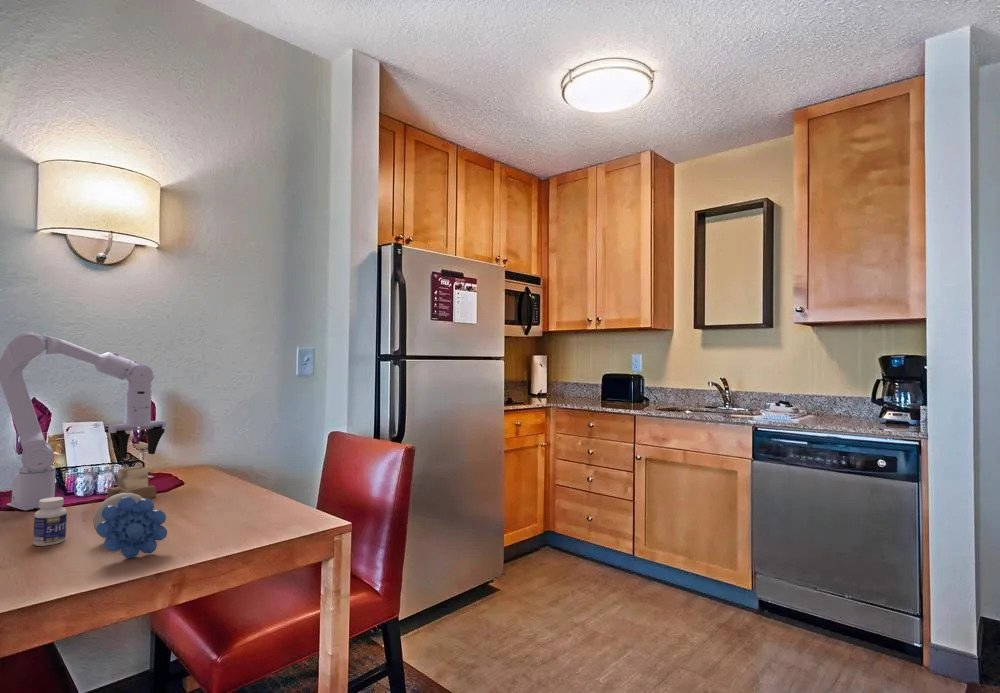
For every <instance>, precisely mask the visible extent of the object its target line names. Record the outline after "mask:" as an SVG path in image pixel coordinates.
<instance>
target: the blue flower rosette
mask: <svg viewBox="0 0 1000 693" xmlns="http://www.w3.org/2000/svg"><path fill="white" fill-rule="evenodd" d="M154 508H155V504H154V502H153V501H152V499H141V500H139V501H138V502H137V504H136V501H135V500H134V499H133V498H132V497H123V498H121V499H120V500H119V502H118V507H116V506H110V505H109V506H107V507H105V508H104V509H103V511H102V517H103V518H104V519H105V520H106V521H103V522H101V523H99V524H98V525H97V528H96V530H95V532H96V531H97V532H96V533H97V535H98V536H100V537H101V538H103V537H108V538H106V539H104V542H103V547H104V548H105V549H106V550H107V551H108V552H112V553H114V552H115V553H117V552H118V551H120V553H121V555H122V556H123V557H124V558H126V559H133V558H136V557H137V556H138V555H139V553H140V551H141V552H142V553H143V554H152V553H153V552H154V551H156V549H157V546H158V544H157V543H158V542H157V541H162V540H165V539H166V537H167V535H168V530H167V528H166V527H165V526H164V525H162V524H164V523H165V522H166V520H167V514H166V513H165V512H164V511H163V510H161V509H154Z"/></svg>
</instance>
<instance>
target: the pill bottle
mask: <svg viewBox="0 0 1000 693" xmlns="http://www.w3.org/2000/svg"><path fill="white" fill-rule="evenodd" d="M64 500H65V499H64V497H62V496H55V497H51V498H45V499H41V500H40V501H39V508H38V510H37V511H36V512H35V513H34V516H33V517H34V518H33V536H32V538H33V539H32V543H33V545H34V546H37V547H47V546H48V547H49V546H52V545H57V544H61V543H63V542H64V541H66V538H67V537H66V536H67V519H68V518H67V516H68V515H67V514H68V511H67V509H66V508H65V507H63V506H64Z"/></svg>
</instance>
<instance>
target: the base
mask: <svg viewBox="0 0 1000 693" xmlns="http://www.w3.org/2000/svg"><path fill="white" fill-rule="evenodd" d="M120 493H134V494H137V495H139V496H141V497H142V498H144V499H150V500H152V499H155V498H156V497H157V486H155V485H152V484H148V487H143V488H138V489H133V490H125V489H120V488H118V486H115V487H109V488H107V494H106V495H107V498H106V499H108V498H109V497H111V496H113V495H116V494H120Z"/></svg>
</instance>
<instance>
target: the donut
mask: <svg viewBox="0 0 1000 693" xmlns="http://www.w3.org/2000/svg"><path fill="white" fill-rule="evenodd" d="M123 497H132V498H133V499H134V500H135V501H136V504H137V502H138V501H139V500H141V499H144V498H142V497H141V496H139V495H137V494H134V493H120V494H116V495H113V496H111V497H109V498H108V499H107V498H106V499H105V500H104V501H102V502H101V503H100V504H99V506H97V509H96V510H95V512H94V514H93V521H92V522H93V529H94V531H95V532H96V533H97V531H96V528H97V525H98V524H99V523H101V522H103V521H106V520H105V519H104V518H103V517H102V511H103V509H104V508H105V507H107V506H109V505H110V506H116V507H118V502H119V500H120V499H121V498H123ZM102 538H103V539H104V540H105V539H106V538H108V537H102Z"/></svg>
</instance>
